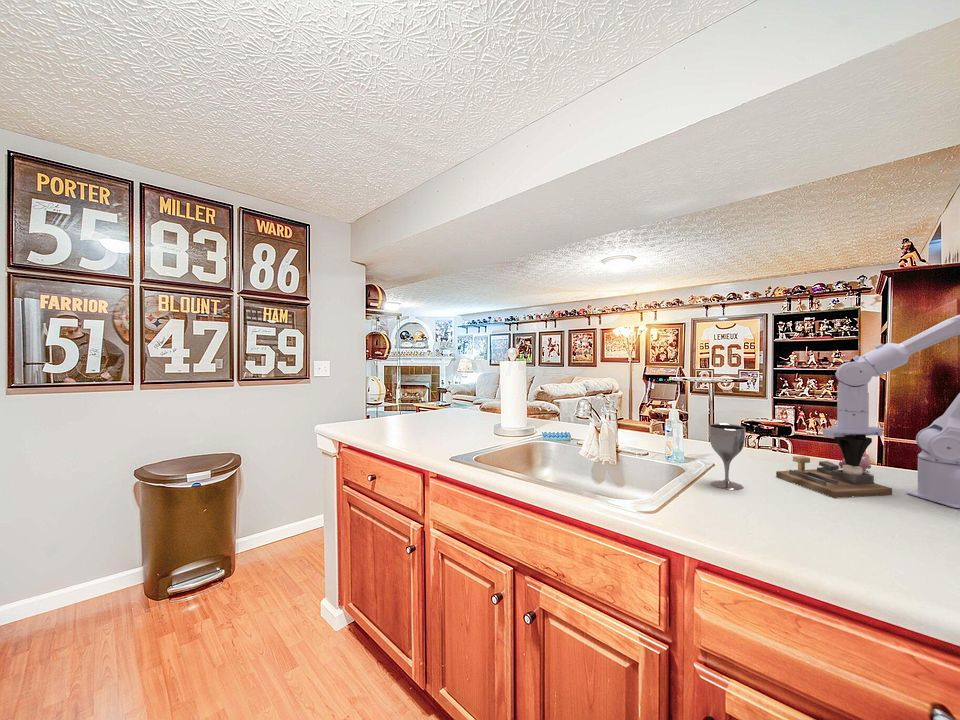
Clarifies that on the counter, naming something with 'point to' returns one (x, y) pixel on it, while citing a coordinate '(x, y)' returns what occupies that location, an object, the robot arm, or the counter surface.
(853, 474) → the push button
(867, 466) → the pink toy figure
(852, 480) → the control panel
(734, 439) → the wine glass
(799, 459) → the slide lever
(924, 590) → the counter surface
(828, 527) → the counter surface
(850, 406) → the robot arm
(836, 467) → the rocker switch
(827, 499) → the counter surface
